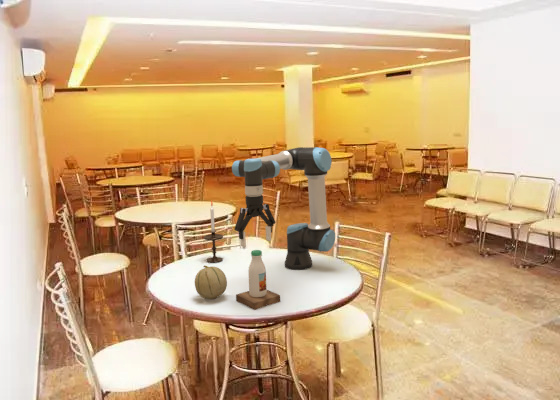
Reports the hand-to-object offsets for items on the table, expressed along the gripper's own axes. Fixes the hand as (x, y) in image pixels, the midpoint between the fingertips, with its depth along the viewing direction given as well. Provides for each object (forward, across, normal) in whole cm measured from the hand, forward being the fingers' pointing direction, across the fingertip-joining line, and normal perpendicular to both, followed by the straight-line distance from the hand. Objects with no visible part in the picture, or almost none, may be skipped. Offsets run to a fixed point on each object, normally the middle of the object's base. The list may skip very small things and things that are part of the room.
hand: (256, 243), depth 214 cm
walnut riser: (+26, 0, 0) cm, 26 cm away
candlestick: (+27, +19, +68) cm, 75 cm away
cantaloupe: (+27, -13, +18) cm, 35 cm away
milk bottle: (+24, 0, 0) cm, 24 cm away
